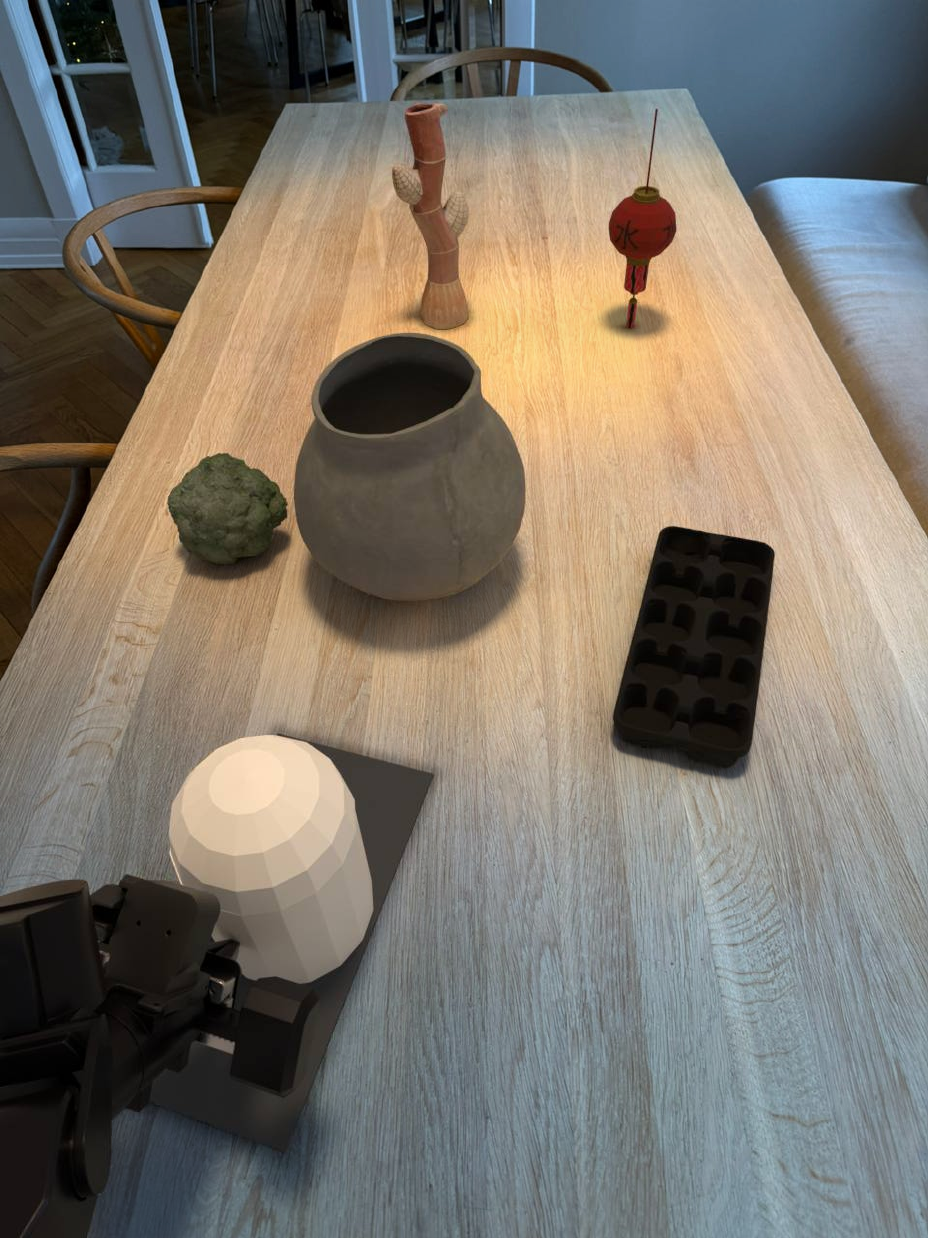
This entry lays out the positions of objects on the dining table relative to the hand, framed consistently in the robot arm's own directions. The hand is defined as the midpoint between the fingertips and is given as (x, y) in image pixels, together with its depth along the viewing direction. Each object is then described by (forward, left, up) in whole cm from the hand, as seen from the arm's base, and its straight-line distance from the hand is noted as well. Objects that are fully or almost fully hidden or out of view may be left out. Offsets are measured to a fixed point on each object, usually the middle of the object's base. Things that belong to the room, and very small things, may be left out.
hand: (234, 947), depth 64 cm
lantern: (+105, -10, -8) cm, 106 cm away
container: (+7, 0, -8) cm, 10 cm away
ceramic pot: (+48, +4, -8) cm, 49 cm away
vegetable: (+46, +26, -8) cm, 53 cm away
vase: (+100, +19, -8) cm, 102 cm away
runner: (+6, +1, -8) cm, 10 cm away
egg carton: (+44, -28, -8) cm, 53 cm away
